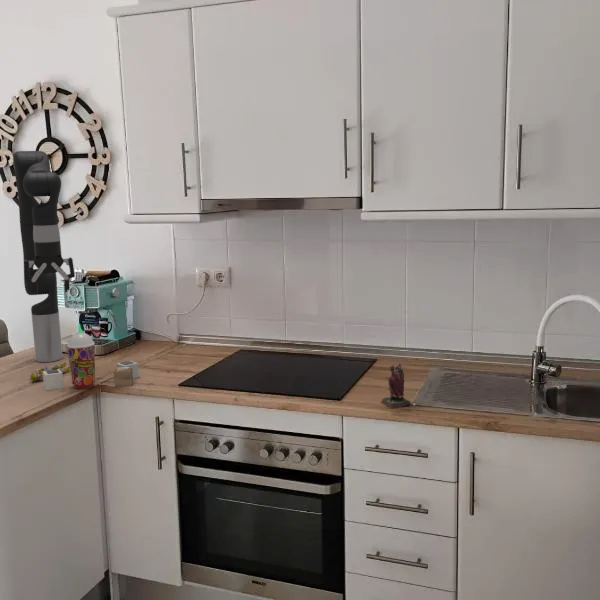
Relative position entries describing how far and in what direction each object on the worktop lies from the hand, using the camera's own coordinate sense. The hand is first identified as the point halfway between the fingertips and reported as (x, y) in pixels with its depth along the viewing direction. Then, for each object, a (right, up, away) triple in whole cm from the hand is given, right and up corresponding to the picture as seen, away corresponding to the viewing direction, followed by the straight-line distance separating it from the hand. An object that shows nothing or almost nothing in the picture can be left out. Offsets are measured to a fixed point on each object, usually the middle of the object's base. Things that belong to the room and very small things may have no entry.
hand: (51, 292), depth 213 cm
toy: (-7, -28, +19) cm, 35 cm away
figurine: (+103, -32, -17) cm, 109 cm away
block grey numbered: (+19, -28, +16) cm, 37 cm away
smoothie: (+8, -30, +7) cm, 31 cm away
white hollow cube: (-2, -30, +7) cm, 31 cm away
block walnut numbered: (+20, -29, +9) cm, 36 cm away
